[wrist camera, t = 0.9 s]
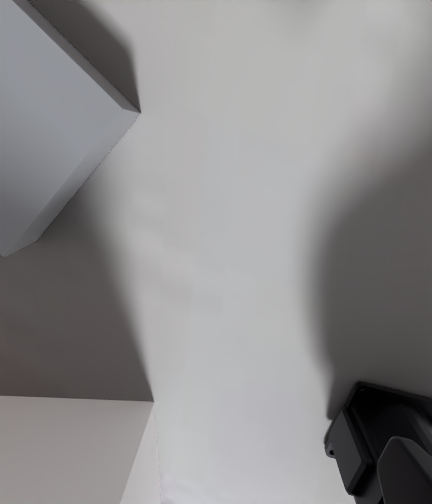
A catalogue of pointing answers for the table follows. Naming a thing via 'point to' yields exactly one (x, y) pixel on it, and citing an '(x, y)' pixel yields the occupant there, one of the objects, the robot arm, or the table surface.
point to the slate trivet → (48, 123)
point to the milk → (78, 451)
